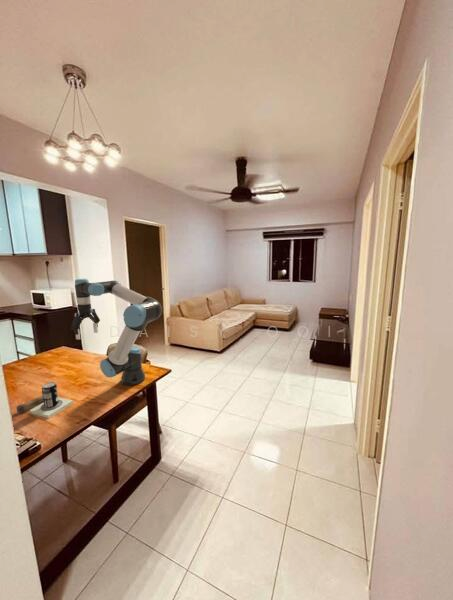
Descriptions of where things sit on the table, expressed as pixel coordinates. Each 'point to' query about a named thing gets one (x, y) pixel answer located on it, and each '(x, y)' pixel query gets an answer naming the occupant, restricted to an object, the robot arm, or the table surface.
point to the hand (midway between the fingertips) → (87, 335)
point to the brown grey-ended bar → (30, 404)
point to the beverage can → (50, 394)
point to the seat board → (51, 408)
